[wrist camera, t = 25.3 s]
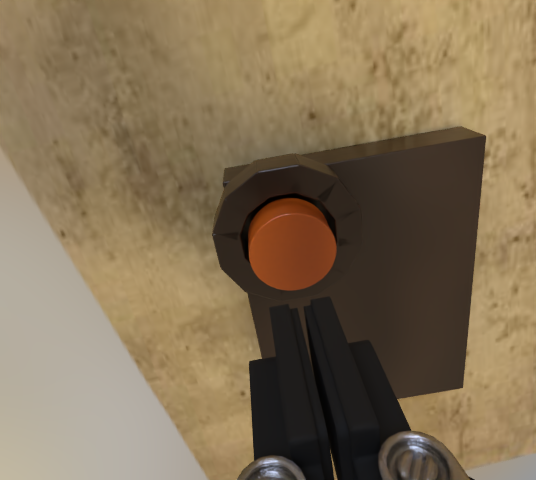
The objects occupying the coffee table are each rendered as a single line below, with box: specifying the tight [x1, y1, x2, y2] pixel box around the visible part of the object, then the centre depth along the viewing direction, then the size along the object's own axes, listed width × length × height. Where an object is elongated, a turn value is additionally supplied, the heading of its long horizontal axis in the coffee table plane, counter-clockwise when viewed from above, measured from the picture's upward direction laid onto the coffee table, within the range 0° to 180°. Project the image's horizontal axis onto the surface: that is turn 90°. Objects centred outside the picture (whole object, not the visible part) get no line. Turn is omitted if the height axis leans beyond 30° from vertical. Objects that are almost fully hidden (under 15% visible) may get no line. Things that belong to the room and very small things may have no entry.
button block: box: [212, 127, 486, 399], centre depth 21 cm, size 13×17×4 cm
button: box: [248, 198, 337, 291], centre depth 17 cm, size 4×4×2 cm
